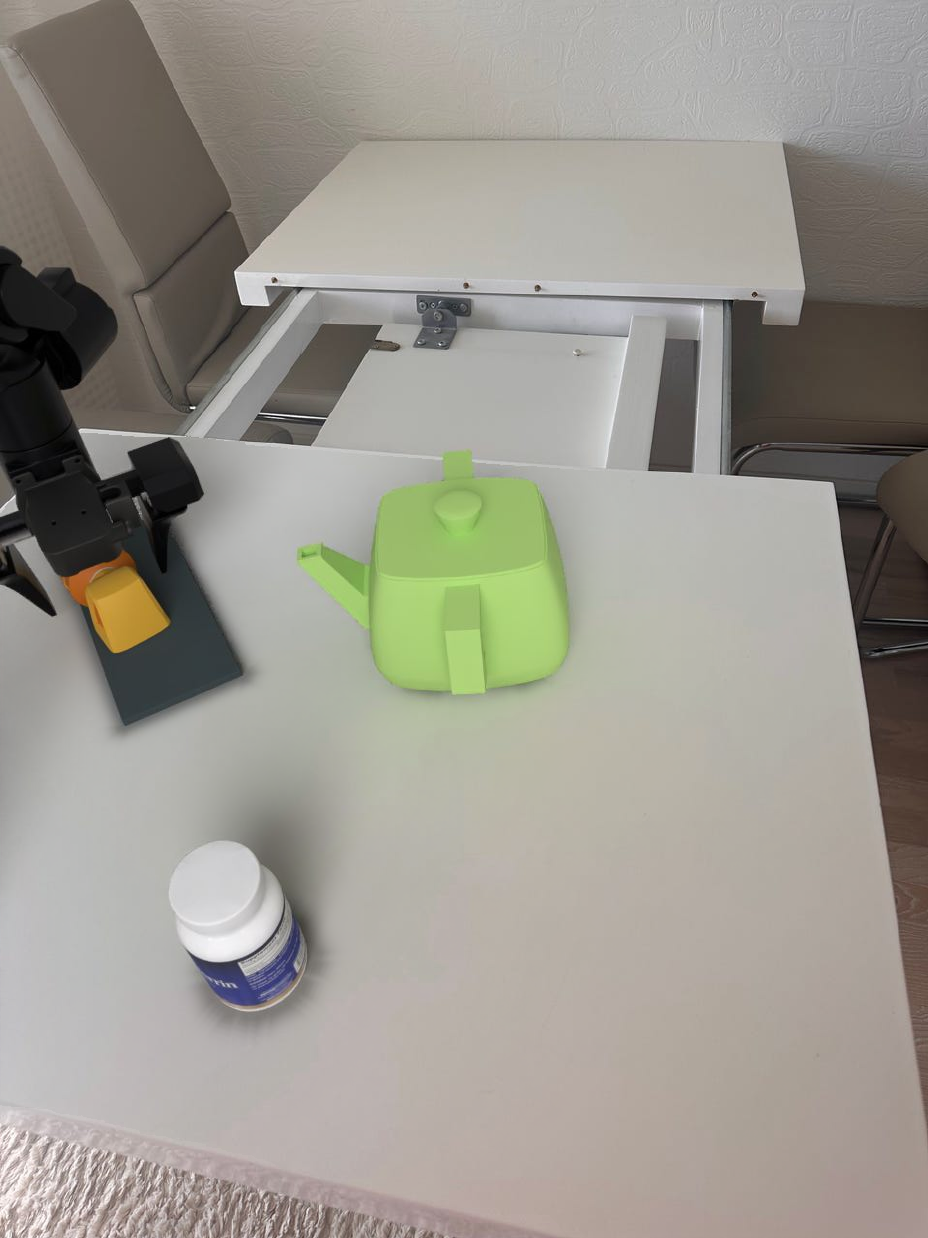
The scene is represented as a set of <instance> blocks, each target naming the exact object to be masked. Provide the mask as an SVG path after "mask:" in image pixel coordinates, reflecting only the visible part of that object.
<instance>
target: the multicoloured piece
mask: <svg viewBox="0 0 928 1238" xmlns="http://www.w3.org/2000/svg"><path fill="white" fill-rule="evenodd" d="M59 579H60V580H61V582H62V584H63V586H64V587H65V589H67V591H68V592H69V594H70V595H71V597H72V599H74V600H75V602H76V603H78V604H79V605H80V604H82V605H84V606H86V607H89V610H90V614H91V618H92V621H93V624H94V627H95V630H96V632H97V633H98V634H99V636H100V637H101V639H102V640H103V641H104V643H105V644H106V645H107V647H108V648H109V649H110V650H111V652H113V653H120V652H122V651H125V650H128V649H130V648H131V647H133V646H135V645H137V644H139V643H141V642H143V641H145V640H146V639H148V638H150V637H152V636H153V635H155V634H157V633H159V632H161V631H162V630H163V629H165V628H166V627H167V626H169V624H170V622H171V621H170V619H169V618H168V616H167V615H166V614H165V612H164V611H163V609H162V608H161V606H160V605H159V603H158V602H157V600H156V599H155V597H154V596H153V594H152V593H151V591H150V590H149V588H148V587H147V585H146V584H145V582H144V581H143V579H142V578H141V577H140V576H139V575H138V574H137V569H136V565H135V562H134V560H133V559H132V557H131V556H130V555H129V554H128V553H127V552H125V550H124V549H123V550H122V553H121V555H120V556H119V557H118V558H117V559H115V560H113V561H111V562H108V563H101V564H98V565H96V566H93V567H91V568H88V569H85V570H83V571H80V572H79V573H78V574H77V575H74V576H71V577H61V576H59Z"/></svg>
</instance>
